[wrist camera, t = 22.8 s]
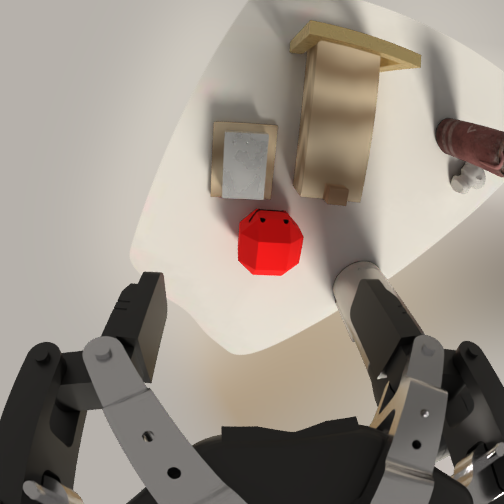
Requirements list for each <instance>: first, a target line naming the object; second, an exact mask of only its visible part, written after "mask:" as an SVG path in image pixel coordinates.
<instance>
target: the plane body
mask: <svg viewBox="0 0 504 504" xmlns="http://www.w3.org/2000/svg"><path fill="white" fill-rule="evenodd" d="M379 71H380V56H378V55H374V54H371V53H368V52H365V51H361V50H358V49H354V48H350V47H347V46H343V45H339V44H334V43H330V42H326V41H320V42H318V43H317V44H316V45H314V46H313V47H311V48H310V49H309V50H307V58H306V69H305V81H304V91H303V101H302V111H301V121H300V130H299V139H298V148H297V156H296V165H295V173H294V181H293V186H294V188H295V189H296V190H297V192H298V193H299V195H300V196H301V197H310V198H321V199H323V200H324V201H325V202H326V203H327V204H332V205H342V206H346V204H347V201H351V202H360V201H361V196H362V191H363V186H364V181H365V175H366V170H367V164H368V159H369V153H370V146H371V140H372V133H373V126H374V119H375V111H376V102H377V93H378V83H379Z"/></svg>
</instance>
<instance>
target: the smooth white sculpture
mask: <svg viewBox="0 0 504 504" xmlns="http://www.w3.org/2000/svg"><path fill="white" fill-rule="evenodd" d="M485 179H486V178H485V173H484V170H483V169H482V168H480V167H478V166H475V165H473V164H471V163H468V162H466V163H465V165H464V167H463V168H462V169H461V175H460V176H453V178H452V181H451V186H452V188H453V190H455V191H456V192H458V193H462V194H465V193H467V192H468V190H469V189H470V188H471V187H472V188H475V189H478V188H481V187H482V186H483V185H484V183H485Z"/></svg>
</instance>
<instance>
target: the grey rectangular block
mask: <svg viewBox="0 0 504 504" xmlns="http://www.w3.org/2000/svg"><path fill="white" fill-rule="evenodd" d="M268 141H269V134H268V133H266V132H258V131H241V130H226V131H225V139H224V160H223V184H222V198H235V199H257V200H263V199H264V187H265V176H266V164H267V153H268Z"/></svg>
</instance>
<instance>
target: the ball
mask: <svg viewBox="0 0 504 504" xmlns="http://www.w3.org/2000/svg"><path fill="white" fill-rule="evenodd" d="M303 238H304V237H303V235H302V233H301V231H300V229H299V227H298V225H297V224H296V223H295V221H294V220H293V219H292V218H291V217H290V216H289V214H288V213H287V212H286V211H284V210H282V211H278V210H263V209H256V210H254V211H253V212H252V213H251V214H249V215H248V216H247V217H246V218H244V219H243V220H242V221H241V222H240V224H239V238H238V261H239V262H240V263H241V264H242V265H243V266H244V267H245V268H247V269H248V270H249V271H250V272H251V273H252V274H253V275H276V276H282V275H283V274H284V273H286V272H287V271H288V270H290V269H291V268H293V267H294V266H295V265H297V264H298V263H299V259H300V254H301V249H302V243H303Z"/></svg>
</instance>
